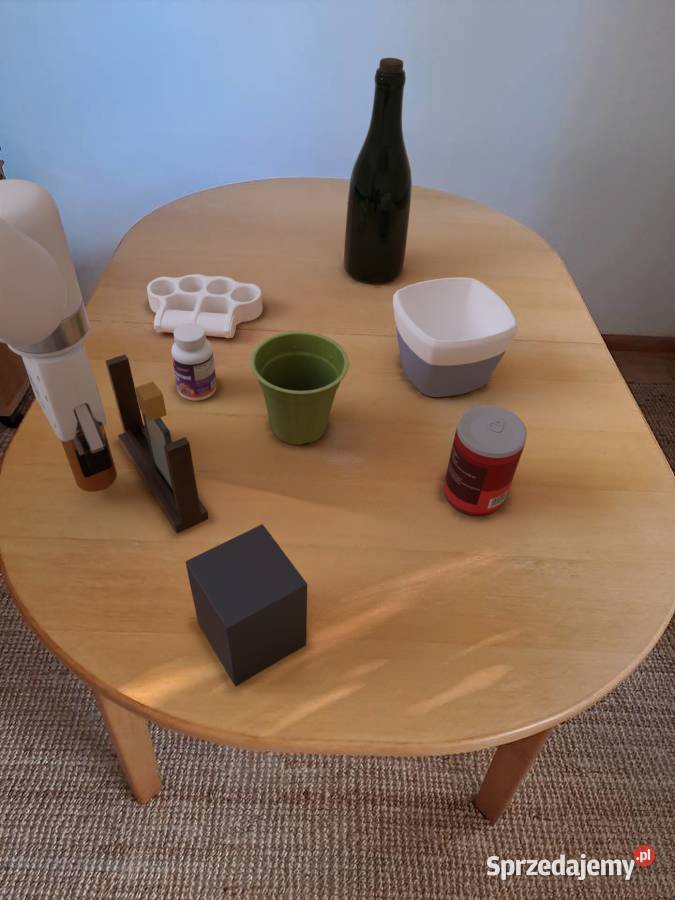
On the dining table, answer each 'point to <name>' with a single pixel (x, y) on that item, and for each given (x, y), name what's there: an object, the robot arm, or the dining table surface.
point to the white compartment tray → (203, 303)
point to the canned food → (483, 459)
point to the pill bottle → (193, 362)
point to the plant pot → (299, 382)
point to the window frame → (184, 500)
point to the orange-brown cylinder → (94, 481)
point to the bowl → (451, 334)
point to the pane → (155, 426)
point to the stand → (249, 602)
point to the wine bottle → (380, 186)
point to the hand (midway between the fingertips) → (88, 454)
